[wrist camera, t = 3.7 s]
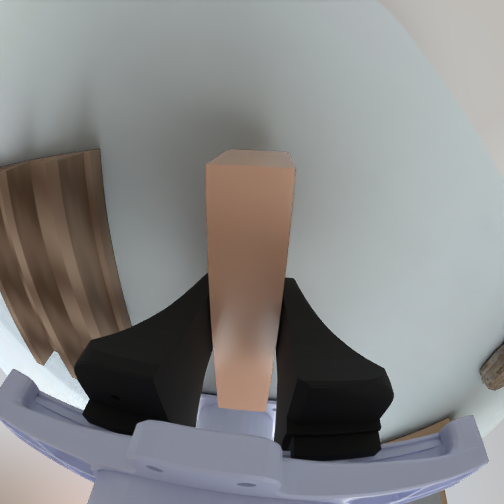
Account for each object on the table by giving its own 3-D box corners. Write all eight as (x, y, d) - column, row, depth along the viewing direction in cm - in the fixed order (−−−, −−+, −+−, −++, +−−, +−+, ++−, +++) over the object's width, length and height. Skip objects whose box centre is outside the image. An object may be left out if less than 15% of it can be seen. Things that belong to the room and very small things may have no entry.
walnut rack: (145, 368, 21) (133, 397, 19) (49, 341, 22) (34, 361, 19) (99, 148, 13) (64, 160, 10) (-6, 168, 14) (-34, 180, 11)
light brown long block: (268, 358, 16) (265, 411, 13) (228, 354, 17) (218, 407, 13) (288, 152, 11) (295, 168, 7) (228, 149, 11) (205, 164, 8)
